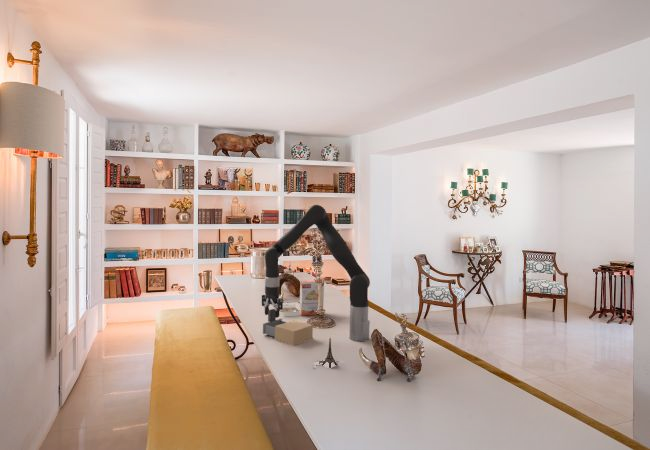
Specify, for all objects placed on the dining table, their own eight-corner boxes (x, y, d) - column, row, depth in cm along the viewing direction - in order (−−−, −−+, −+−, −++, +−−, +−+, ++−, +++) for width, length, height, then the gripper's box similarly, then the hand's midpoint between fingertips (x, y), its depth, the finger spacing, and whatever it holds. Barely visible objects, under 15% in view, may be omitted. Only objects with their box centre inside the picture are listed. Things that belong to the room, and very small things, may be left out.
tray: (298, 333, 223) (298, 311, 222) (280, 339, 212) (280, 316, 212) (279, 327, 231) (279, 307, 231) (261, 333, 221) (261, 311, 220)
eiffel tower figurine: (345, 361, 189) (346, 331, 188) (348, 370, 179) (349, 339, 178) (311, 361, 188) (312, 331, 187) (313, 370, 178) (313, 339, 177)
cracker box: (301, 316, 258) (301, 282, 257) (299, 313, 264) (299, 280, 263) (323, 315, 262) (324, 281, 261) (321, 312, 268) (321, 279, 267)
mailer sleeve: (312, 338, 217) (312, 325, 216) (293, 345, 206) (293, 331, 206) (294, 333, 225) (294, 320, 225) (274, 339, 214) (275, 325, 214)
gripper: (287, 286, 223) (286, 317, 224) (268, 282, 232) (267, 312, 233) (276, 288, 217) (276, 320, 218) (257, 284, 226) (257, 314, 227)
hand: (271, 315), depth 225 cm, fingers open, 7 cm apart
